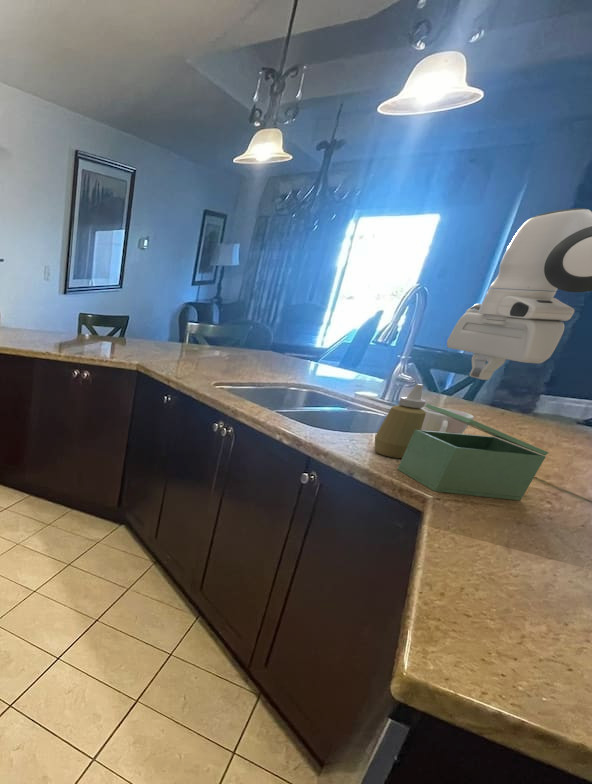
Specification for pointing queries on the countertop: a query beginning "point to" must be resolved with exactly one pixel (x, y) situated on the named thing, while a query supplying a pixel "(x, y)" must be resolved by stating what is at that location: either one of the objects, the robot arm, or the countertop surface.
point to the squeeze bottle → (401, 424)
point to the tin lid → (487, 429)
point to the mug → (444, 421)
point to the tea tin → (470, 464)
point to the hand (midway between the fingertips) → (478, 378)
